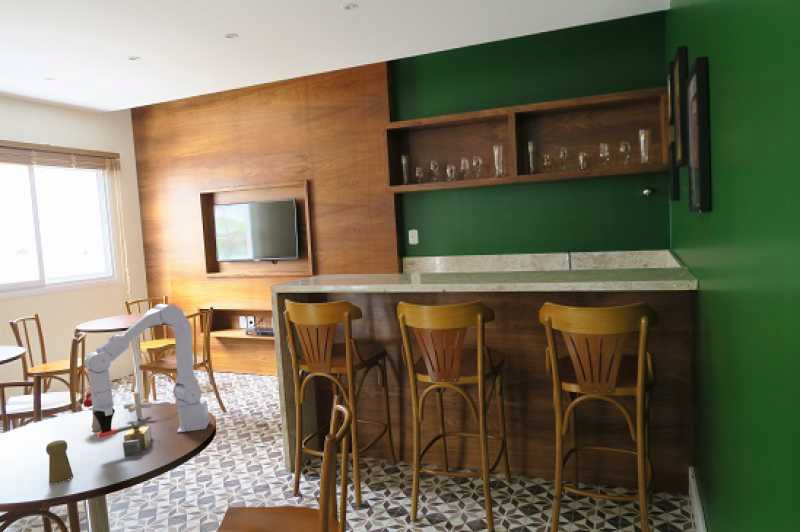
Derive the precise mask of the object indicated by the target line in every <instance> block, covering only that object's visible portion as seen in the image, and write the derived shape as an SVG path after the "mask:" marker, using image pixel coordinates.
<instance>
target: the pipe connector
mask: <svg viewBox="0 0 800 532" xmlns="http://www.w3.org/2000/svg"><path fill="white" fill-rule="evenodd" d="M133 397H134V398H133V399H134V403H125V404H124V405H123V409H124V410H128V413H133V412H135V413H136V420H137V419H140V420H142V419H143V412H142V409H150V408H152V407H153V403H152V402H149V401H148V399H147V398H143V399H142V400H141V397H140V391H136V392H133ZM141 418H142V419H141Z"/></svg>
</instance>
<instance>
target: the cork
mask: <svg viewBox="0 0 800 532" xmlns="http://www.w3.org/2000/svg"><path fill="white" fill-rule="evenodd" d="M67 449H68V443H67V441H66V440H64V439H59V440H54V441H52V442H49V443H48V444H47V445H46V449H45V451H46V454H47V455H48V457H49V458H48V459H49V460H48V462H49V463H48V465H49V466H48V478H49V479H48V483H49V484H50V483H58V484H61V483H60V482H62V483H64V482H63V481H65V482H67V481H66V480H68V479H70V478H71V477H72V478H73V477H74V474H73V471H72V466H71V464H70V461H69V458H68V454H67ZM72 478H71V479H72ZM71 479H70V480H71ZM68 481H69V480H68Z"/></svg>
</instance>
